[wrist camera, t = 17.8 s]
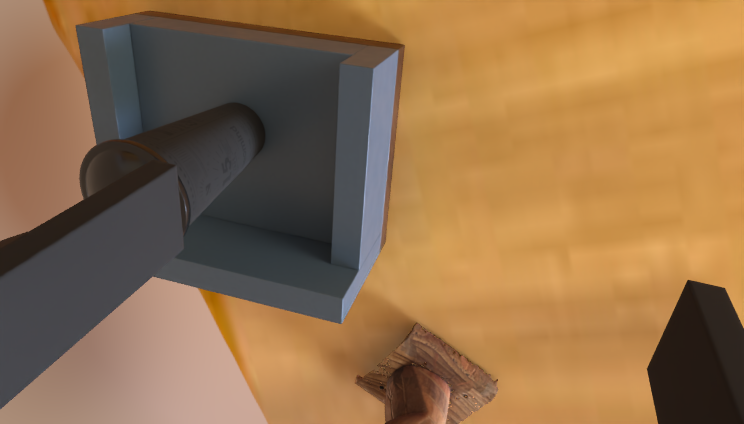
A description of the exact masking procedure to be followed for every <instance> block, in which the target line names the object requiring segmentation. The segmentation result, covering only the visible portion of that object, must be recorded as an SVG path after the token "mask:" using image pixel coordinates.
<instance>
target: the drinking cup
mask: <svg viewBox="0 0 744 424" xmlns="http://www.w3.org/2000/svg"><path fill="white" fill-rule="evenodd" d="M264 143H265V129H264V125H263V123H262V121H261V119H260V118H259V116H258V115H257V114H256V113H255V112H254V111H253V110H252V109H251V108H249V107H248V106H246V105H243V104H240V103H235V102H234V103H227V104H224V105H221V106H218V107H215V108H212V109H210V110H207V111H204V112H201V113H198V114H195V115H192V116H189V117H186V118H184V119H181V120H178V121H175V122H172V123H169V124H166V125H163V126H161V127H158V128H155V129H152V130H149V131H146V132H143V133H140V134H137V135H135V136H132V137H129V138H126V139H112V140H107V141H104V142H102V143H100V144H98V145H96V146H94V147H93V148H92V149H91V150H90V151H89V152H88V153H87V154H86V156H85V158H84V160H83V162H82V165H81V168H80V187H81V191H82V195H83V198H84V199H86V198H88V197H89V196H91V195H93V194H94V193H96V192H98V191H100V190H101V189H103V188H105V187H107V186H108V185H110V184H112V183H113V182H115V181H117V180H119V179H120V178H122V177H124V176H125V175H127V174H129V173H131V172H132V171H134V170H136V169H137V168H139V167H141V166H143V165H144V164H146V163H148V162H149V161H151V160H156V161H161V162H165V163H170V164H174V165H177V174H178V184H179V195H180V206H181V217H182V228H183V237H184V236H185V234H186V232H187V230H188V228H189V226H190V224H191V223H192V222H193V221H194V220H195V219H196V218H197V217H198V216H199V215H200V214H201V213H202V212H203V211H204V210H205V209H206V208H207V207H208V206H209V205H210V204H211V203H212V201H213V200H214V199H215V198H216V197H217V196H218V195H219V194H220V193H221V192H222V191H223V190H224V189H225V188H226V187H227V186H228V185H229V184H230V183H231V182H232V181H233V179H234V178H235V177H236V176H237V175H238V174H239V173H240V172H241V171H242V170H243V169H244V168H245V167H246V166H247V165H248V164H249V163H250V162H251V161H252V160H253V159H254V157H255V156H256V155H257V154H258V153H259V152H260V151H261V150H262V148H263V146H264Z"/></svg>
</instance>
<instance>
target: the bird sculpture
mask: <svg viewBox="0 0 744 424" xmlns="http://www.w3.org/2000/svg"><path fill="white" fill-rule="evenodd" d="M421 328H422V327H421V326H420V324H418V323H416V324H415V325H414V327H413V329H412V331H411V332H410V333H409V334H408V336H407V337H406V338H405V340H404V341H403V342H402V344H401V345H400V346H398V347H397V350H394V351H393V352H391V354H389V356H387V357H386V358H385V359H383V361H382V362H381V363H379V365H377V366H378V367H380V369H379V371H375V373H374V372H373V371H371V372H369V374H367V375H366V376H364V378H362V377H360V376H359V375H357V377H356V379H355V384H357V385H358V386H360V387H361V388H363V389H364V390H365V391H367V392H369V393H370V394H371V395H373V396H374V397H376V398H377V399H378V400H380V401H381V402H383V403H384V404H385V421H386V423H385V424H459V423H460V421H464V420H465V419H466V418H467V417H468V416H470V415H471V414H472V413H473V412H475V411H478V410H479V408H481V407H483V406H484V405H486V404H488V403H489V402H491V401H492V400H493V398H494V397H495V395H496V394H497V391H498V387H497V381H498V379H497V380H496V381H493V380H492V379H491V376H490V374H489V375H487V373H484V372H483V370H482V369H479V366H477V365H472V363H471V362H468V361H467V358H464V356H463V355H462V357H461V355H460V356H459V353H458V352H456V350H454V349H452V348H451V347H450V346H448V345H446V343H444V342H443V341H442V340H441V339H437V338H436V337H434V336H435V335H432V334H431V332H430V333H429V332H427V330H426V329H425V328H424V330H422V329H421ZM425 331H426V333H425ZM444 344H445V345H444ZM453 351H455V354H453ZM387 359H389V361H388V363H386V361H387ZM425 362H426V363H425ZM412 363H414V364H416V365H414V364H413V365H412ZM382 364H390V366H385V365H384V366H383V365H382ZM421 365H423V366H424V367H425V368H424V367H422V366H421ZM381 367H385V369H382V368H381ZM390 367H391V368H390ZM384 370H385V371H386V373H384ZM430 370H431V371H430ZM377 372H379V373H380V374H377ZM387 372H389V373H390V374H388V373H387ZM382 374H383V375H382ZM385 375H387V378H385V377H384V376H385ZM390 375H391V376H390ZM440 376H443V379H442V378H441V377H440ZM444 379H445V380H444ZM367 380H368V381H367ZM380 382H381V383H382V384H381V383H380ZM370 383H371V384H370ZM448 384H452V385H451V387H449V386H448ZM384 387H386V389H385V388H384ZM453 390H454V392H452V393H451V391H453ZM465 396H467V397H465ZM455 397H457V398H456V399H455ZM458 397H460V399H458ZM473 397H474V398H473ZM449 399H450V400H449ZM449 401H451V402H452V403H451V404H449ZM475 403H477V404H475ZM451 406H452V407H451ZM479 406H480V407H479ZM448 407H449V408H448ZM471 411H473V412H471ZM447 419H449V420H447Z"/></svg>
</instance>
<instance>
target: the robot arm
mask: <svg viewBox="0 0 744 424" xmlns="http://www.w3.org/2000/svg"><path fill="white" fill-rule="evenodd" d="M183 249H184V239H183V228H182V217H181V206H180V195H179V184H178V174H177V165H174V164H170V163H165V162H161V161H156V160H151V161H149V162H148V163H146V164H144V165H143V166H141V167H139V168H137V169H136V170H134V171H132V172H131V173H129V174H127V175H125V176H124V177H122V178H120V179H119V180H117V181H115V182H113V183H112V184H110V185H108V186H107V187H105V188H103V189H101V190H100V191H98V192H96V193H94V194H93V195H91V196H89V197H88V198H86V199H84V200H82V201H81V202H79V203H77V204H76V205H74V206H72V207H70V208H69V209H67V210H65V211H64V212H62V213H60V214H59V215H57V216H55V217H53V218H52V219H50V220H48V221H46V222H45V223H43V224H41V225H40V226H38V227H36V228H34V229H33V230H31V231H29V232H26V233H22V234H19V235H16V236H13V237H10V238H7V239H4V240H2V241H0V409H1V408H2V407H4V406H5V405H6V404H7V403H8V402H9V401H10V400H12V399H13V398H14V397H15V396H16V395H17V394H18V393H20V392H21V391H22V390H23V389H24V388H25V387H26V386H28V385H29V384H30V383H31V382H32V381H33V380H34V379H36V378H37V377H38V376H39V375H40V374H41V373H43V371H45V370H46V369H47V368H48V367H49V366H51V365H52V364H53V363H54V362H55V361H56V360H57V359H59V358H60V357H61V356H62V355H63V354H64V353H65V352H67V351H68V350H69V349H70V348H71V347H72V346H73V345H74V344H76V343H77V342H78V341H79V340H80V339H81V338H83V337H84V336H85V335H86V334H87V333H88V332H89V331H91V330H92V329H93V328H94V327H95V326H96V325H97V324H99V323H100V322H101V321H102V320H103V319H104V318H105V317H107V316H108V315H109V314H110V313H111V312H112V311H114V310H115V309H116V308H117V307H118V306H119V305H120V304H121V303H123V302H124V301H125V300H126V299H127V298H128V297H130V296H131V295H132V294H133V293H134V292H135V291H136V290H138V289H139V288H140V287H141V286H142V285H143V284H144V283H146V282H147V281H148V280H149V279H150V278H151V277H153V276H154V275H155V274H156V273H157V272H158V271H159V270H161V269H162V268H163V267H164V266H165V265H166V264H167V263H169V262H170V261H171V260H172V259H173V258H174V257H175V256H177V255H178V254H179V253H180V252H181V251H182V250H183ZM647 371H648V376H649V381H650V386H651V391H652V395H653V400H654V405H655V410H656V415H657V420H658V424H744V328H743V326H742V324H741V322H740V320H739V318H738V315H737V313H736V311H735V309H734V307H733V305H732V303H731V300H730V298H729V296H728V294H727V292H726V290H725V288H722V287H718V286H713V285H709V284H704V283H700V282H695V281H691V280H688V281H687V283H686V285H685V287H684V289H683V292H682V294H681V296H680V298H679V300H678V302H677V305H676V307H675V309H674V311H673V313H672V315H671V318H670V320H669V322H668V324H667V326H666V329H665V331H664V333H663V335H662V337H661V339H660V342H659V344H658V346H657V348H656V350H655V352H654V355H653V357H652V359H651V361H650V363H649V365H648V368H647Z"/></svg>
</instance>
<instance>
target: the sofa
mask: <svg viewBox="0 0 744 424" xmlns="http://www.w3.org/2000/svg"><path fill="white" fill-rule="evenodd" d="M76 31H77V37H78V42H79V48H80V54H81V59H82V65H83V71H84V76H85V82H86V87H87V93H88V98H89V104H90V109H91V115H92V121H93V127H94V132H95V138H96V144H97V145H98V144H100V143H102V142H104V141H107V140H112V139H126V138H129V137H132V136H135V135H137V134H140V133H143V132H146V131H149V130H152V129H155V128H158V127H161V126H163V125H166V124H169V123H172V122H175V121H178V120H181V119H184V118H186V117H189V116H192V115H195V114H198V113H201V112H204V111H207V110H210V109H212V108H215V107H218V106H221V105H224V104H227V103H234V102H235V103H240V104H243V105H246V106H248V107H249V108H251V109H252V110H253V111H254V112H255V113H256V114H257V115H258V116H259V118H260V119H261V121H262V123H263V125H264V129H265V143H264V146H263V148H262V150H261V151H260V152H259V153H258V154H257V155H256V156H255V157H254V159H253V160H252V161H251V162H250V163H249V164H248V165H247V166H246V167H245V168H244V169H243V170H242V171H241V172H240V173H239V174H238V175H237V176H236V177H235V178H234V179H233V181H232V182H231V183H230V184H229V185H228V186H227V187H226V188H225V189H224V190H223V191H222V192H221V193H220V194H219V195H218V196H217V197H216V198H215V199H214V200H213V201H212V203H211V204H210V205H209V206H208V207H207V208H206V209H205V210H204V211H203V212H202V213H201V214H200V215H199V216H198V217H197V218H196V219H195V220H194V221H193V222H192V223H191V224H190V226H189V228H188V230H187V232H186V234H185V236H184V237H183V239H184V249H183V250H182V251H181V252H180V253H179V254H178V255H177V256H175V257H174V258H173V259H172V260H171V261H170V262H169V263H167V264H166V265H165V266H164V267H163V268H162V269H161V270H159V271H158V272H157V273H156V274H155V275H154V276H153V277H157V278H161V279H165V280H169V281H173V282H177V283H181V284H185V285H189V286H193V287H197V288H200V289H204V290H208V291H212V292H216V293H220V294H224V295H228V296H232V297H236V298H240V299H244V300H248V301H252V302H256V303H260V304H264V305H268V306H272V307H276V308H280V309H284V310H288V311H291V312H295V313H299V314H303V315H307V316H311V317H315V318H319V319H323V320H327V321H331V322H335V323H339V324H342V322H343V321H344V319H345V317H346V315H347V313H348V311H349V309H350V308H351V306H352V304H353V302H354V300H355V298H356V296H357V294H358V293H359V291H360V289H361V287H362V285H363V283H364V281H365V279H366V278H367V276H368V274H369V272H370V270H371V268H372V266H373V265H374V263H375V261H376V259H377V257H378V255H379V253H380V252H381V250H382V248H383V246H384V244H385V240H386V230H387V219H388V209H389V199H390V189H391V179H392V169H393V158H394V148H395V138H396V128H397V118H398V108H399V98H400V87H401V77H402V67H403V57H404V47H405V45H402V44H394V43H387V42H379V41H372V40H364V39H357V38H349V37H342V36H334V35H327V34H319V33H312V32H304V31H297V30H289V29H282V28H274V27H267V26H259V25H252V24H244V23H237V22H229V21H222V20H214V19H207V18H199V17H191V16H184V15H176V14H169V13H161V12H154V11H145V12H140V13H135V14H130V15H125V16H120V17H115V18H110V19H105V20H100V21H95V22H90V23H85V24H80V25H76Z"/></svg>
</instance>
